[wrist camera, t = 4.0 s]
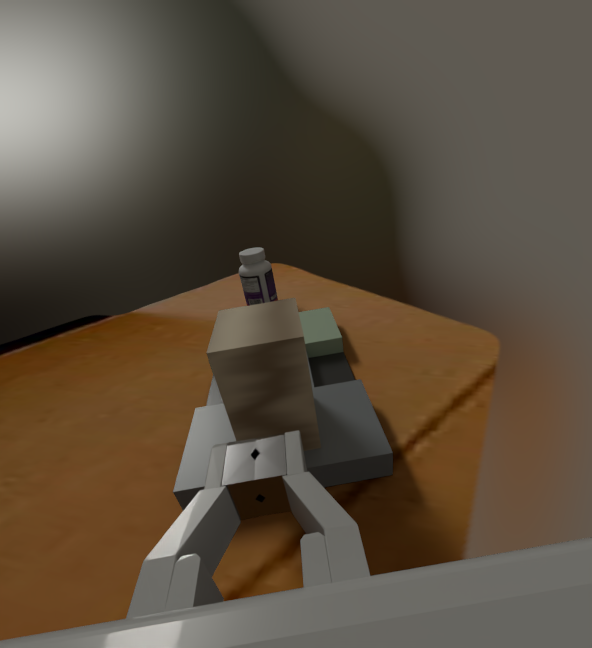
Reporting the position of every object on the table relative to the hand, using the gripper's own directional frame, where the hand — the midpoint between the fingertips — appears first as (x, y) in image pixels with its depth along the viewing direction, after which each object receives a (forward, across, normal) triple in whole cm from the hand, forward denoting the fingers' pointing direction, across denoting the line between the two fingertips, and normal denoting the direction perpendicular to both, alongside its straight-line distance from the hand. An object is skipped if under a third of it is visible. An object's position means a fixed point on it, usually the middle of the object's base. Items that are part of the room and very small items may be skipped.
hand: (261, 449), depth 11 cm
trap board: (+20, -1, -14) cm, 24 cm away
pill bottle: (+42, -3, -14) cm, 44 cm away
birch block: (+12, -1, -11) cm, 16 cm away
